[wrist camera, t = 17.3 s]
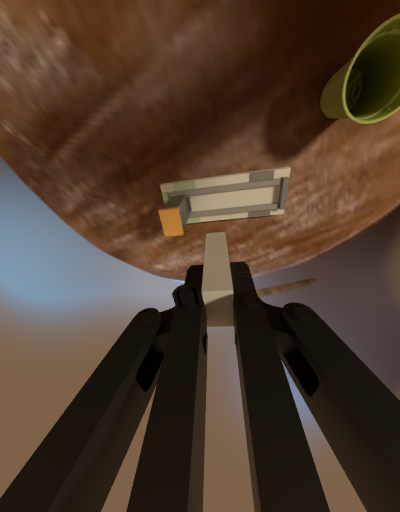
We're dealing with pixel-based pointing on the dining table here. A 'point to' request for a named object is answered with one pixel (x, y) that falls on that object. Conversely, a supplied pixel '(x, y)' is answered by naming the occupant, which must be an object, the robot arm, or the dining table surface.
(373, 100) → the plant pot
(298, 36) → the dining table surface
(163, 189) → the board
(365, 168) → the dining table surface
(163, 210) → the handle
